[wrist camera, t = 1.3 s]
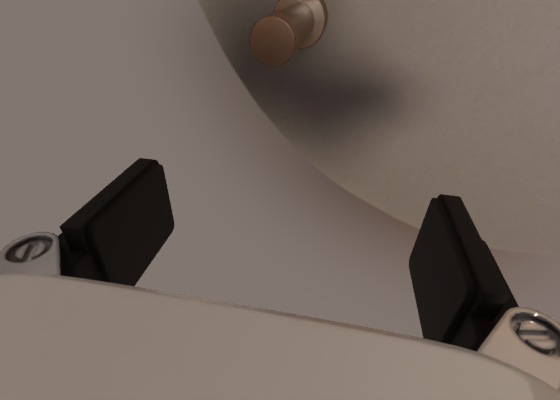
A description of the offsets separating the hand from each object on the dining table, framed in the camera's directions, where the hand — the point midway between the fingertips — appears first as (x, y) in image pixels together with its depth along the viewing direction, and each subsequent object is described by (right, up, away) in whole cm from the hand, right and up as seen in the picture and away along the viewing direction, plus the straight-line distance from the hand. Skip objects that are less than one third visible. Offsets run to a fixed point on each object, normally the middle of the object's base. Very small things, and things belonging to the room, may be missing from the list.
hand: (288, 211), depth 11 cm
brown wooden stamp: (+2, +17, +18) cm, 25 cm away
